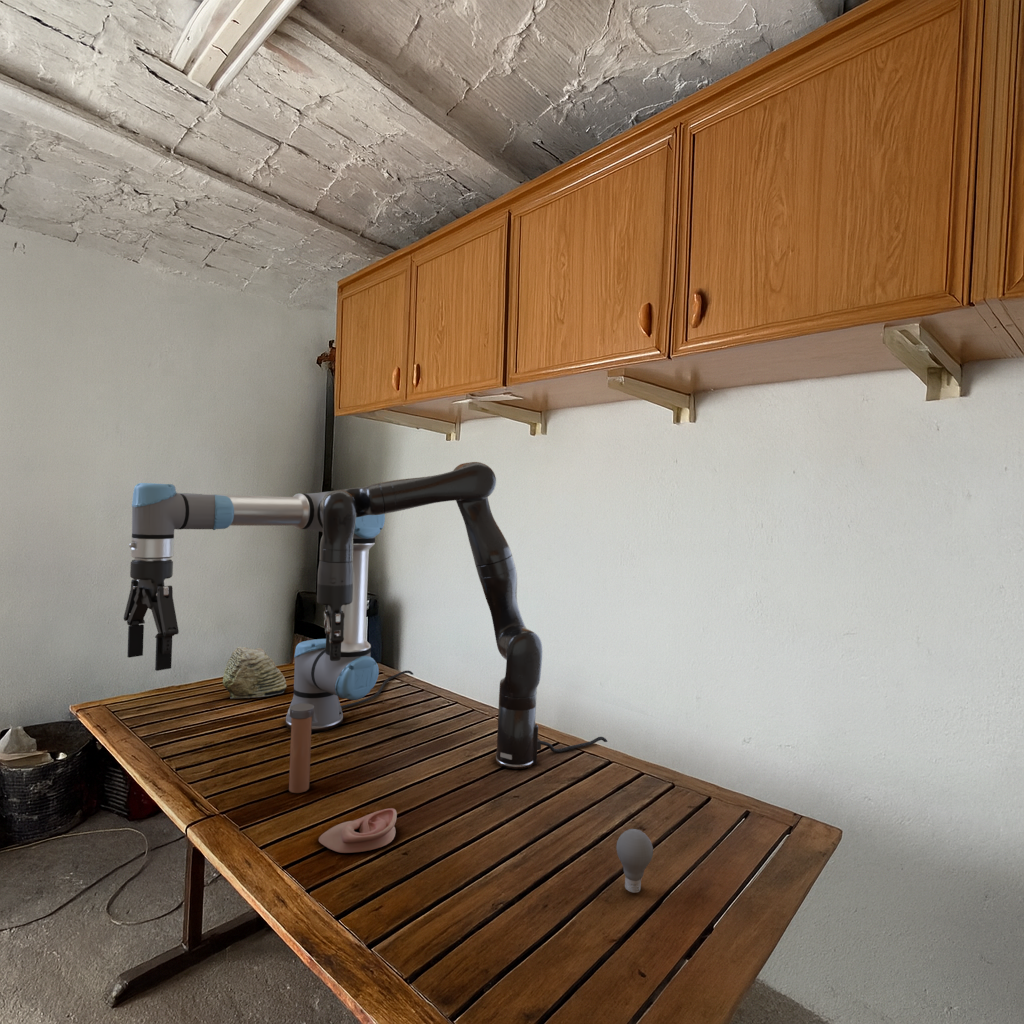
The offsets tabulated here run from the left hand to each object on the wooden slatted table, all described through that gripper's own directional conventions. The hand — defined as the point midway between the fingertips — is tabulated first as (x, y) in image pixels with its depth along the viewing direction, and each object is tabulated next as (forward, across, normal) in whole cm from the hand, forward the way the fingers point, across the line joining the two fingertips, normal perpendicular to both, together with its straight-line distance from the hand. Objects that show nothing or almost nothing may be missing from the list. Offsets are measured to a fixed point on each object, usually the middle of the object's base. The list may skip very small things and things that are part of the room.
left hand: (148, 662), depth 129 cm
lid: (+11, +18, +24) cm, 32 cm away
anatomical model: (+28, +44, +20) cm, 56 cm away
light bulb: (+28, +90, +41) cm, 103 cm away
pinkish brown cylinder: (+28, +18, +24) cm, 41 cm away
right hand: (-1, +22, +29) cm, 36 cm away
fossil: (+28, -47, +50) cm, 74 cm away
